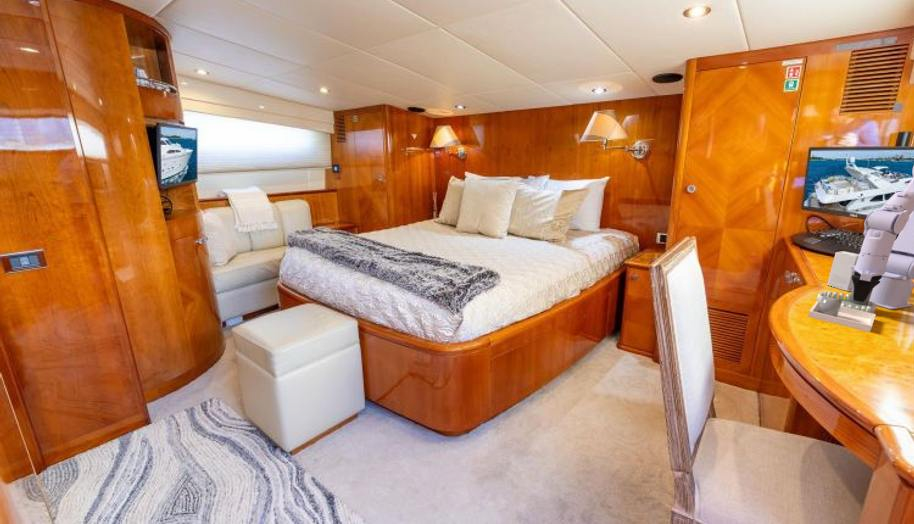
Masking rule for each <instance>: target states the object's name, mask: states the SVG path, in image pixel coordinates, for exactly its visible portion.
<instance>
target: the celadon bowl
mask: <svg viewBox="0 0 914 524" xmlns="http://www.w3.org/2000/svg"><path fill="white" fill-rule="evenodd" d="M838 294H839V295H838ZM850 294H851V293H846V294H845V293H843V292H840V293H839V292H837V291H833V292H832V291H823V292H822V291H820V292H818V294H817V297H816V302H817V301H819V302H821V300H822V297H830V298H835V299H838V300H840V301H842V303H841V307H846V308H850V309H855V310H859V311H864V312H868V313H872V314H874V313H875V312H876V309H877V307H878V305H876V304H875V303H874V302H872V301H870V300H869V303H868V305H859V304H854V303H851V302H849V298H850ZM845 295H846V296H845ZM844 297H845V298H844Z"/></svg>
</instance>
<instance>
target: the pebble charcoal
mask: <svg viewBox="0 0 914 524" xmlns="http://www.w3.org/2000/svg"><path fill="white" fill-rule="evenodd" d="M872 291H873V289H872V290H871V292H870V293H869V295H868V297H867V298H866V300H865V301H864V302H859V301H855V300H853V293H854V286H853V288H852V291H850V293H849V294H850V298H849V302H851V303H854V304H859V305H868V303H869V300H870V297H871V294H872Z"/></svg>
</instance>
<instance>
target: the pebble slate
mask: <svg viewBox="0 0 914 524" xmlns="http://www.w3.org/2000/svg"><path fill="white" fill-rule="evenodd" d="M841 303H842V301H840V300H838V298H836V299H835V298H832V297H831V298H830V297H822V300H821V303H820V306H819V309H818V313H822V314H826V315H830V316H834V317H837V315H838V312H839V309H840V306H841Z"/></svg>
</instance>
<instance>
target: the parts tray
mask: <svg viewBox="0 0 914 524" xmlns="http://www.w3.org/2000/svg"><path fill="white" fill-rule="evenodd" d="M820 303H821V302H819V301H817V300H816V302H815V303H814V304H813V306H812V307H811V308H810V309H809V312H808V314H807V315H808V316H807V317H808V318H812V319H816V320H819V321H823V322H828V323H833V324H835V325H839V326H844V327H848V328H851V329H856V330H860V331H863V332H868V333H871V330H872V327H873V323H874V321H875V318H876V315H877V314H876V313H873V314H872V313H868V312H864V311H859V310H855V309H850V308H846V307H841V306H840V309H839V312H838V315H837V317H834V316H830V315H826V314H822V313H818V309H819V306H820Z"/></svg>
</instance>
